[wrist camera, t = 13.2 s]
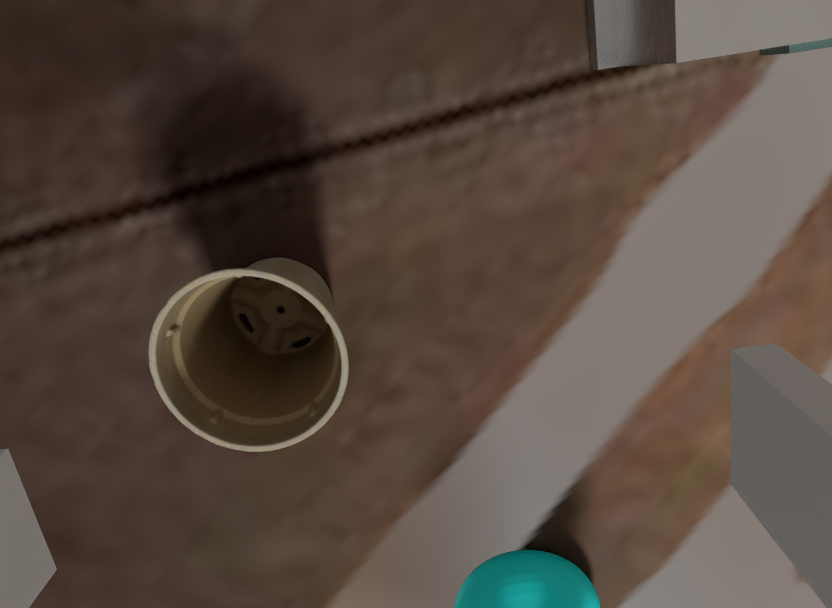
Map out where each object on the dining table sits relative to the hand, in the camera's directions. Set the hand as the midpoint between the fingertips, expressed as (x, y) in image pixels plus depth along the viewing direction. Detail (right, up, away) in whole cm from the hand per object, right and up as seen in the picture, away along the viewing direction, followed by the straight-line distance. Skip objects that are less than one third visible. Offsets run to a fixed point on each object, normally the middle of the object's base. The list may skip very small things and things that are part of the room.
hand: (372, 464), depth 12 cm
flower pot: (-7, +3, +27) cm, 29 cm away
